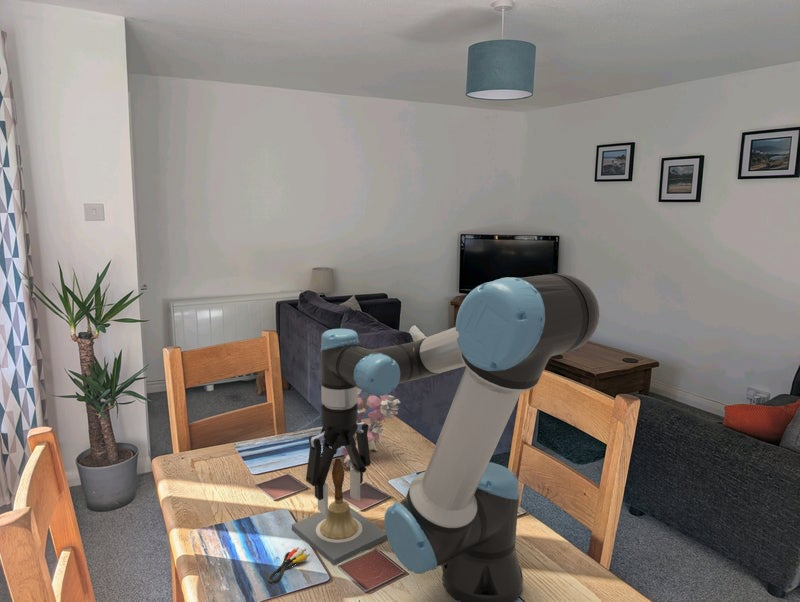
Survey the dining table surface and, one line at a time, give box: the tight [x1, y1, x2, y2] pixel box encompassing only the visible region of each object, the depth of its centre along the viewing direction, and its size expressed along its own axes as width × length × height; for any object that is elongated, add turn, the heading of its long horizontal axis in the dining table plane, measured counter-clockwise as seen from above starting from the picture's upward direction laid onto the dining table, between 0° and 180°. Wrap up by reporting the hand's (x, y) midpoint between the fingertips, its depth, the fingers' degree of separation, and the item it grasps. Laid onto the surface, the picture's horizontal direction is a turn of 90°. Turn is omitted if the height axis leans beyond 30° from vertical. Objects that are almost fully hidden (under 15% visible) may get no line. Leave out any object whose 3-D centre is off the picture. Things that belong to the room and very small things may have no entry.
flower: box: [341, 388, 402, 469], centre depth 158 cm, size 20×22×25 cm
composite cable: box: [267, 546, 311, 584], centre depth 111 cm, size 10×5×2 cm, turn 144°
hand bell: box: [320, 458, 358, 540], centre depth 121 cm, size 8×8×16 cm
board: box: [291, 506, 388, 566], centre depth 123 cm, size 16×14×1 cm
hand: (339, 504), depth 121 cm, fingers open, 8 cm apart
